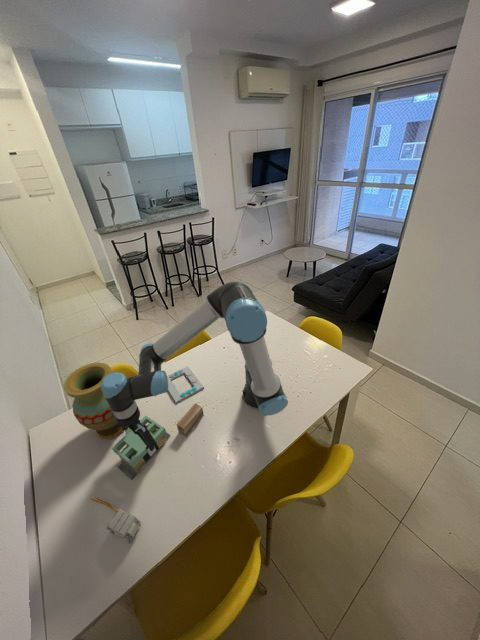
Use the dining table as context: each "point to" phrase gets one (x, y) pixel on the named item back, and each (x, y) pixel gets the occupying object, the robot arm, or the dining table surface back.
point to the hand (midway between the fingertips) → (142, 445)
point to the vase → (92, 400)
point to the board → (137, 442)
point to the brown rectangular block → (190, 419)
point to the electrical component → (122, 523)
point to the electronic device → (184, 395)
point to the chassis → (133, 471)
